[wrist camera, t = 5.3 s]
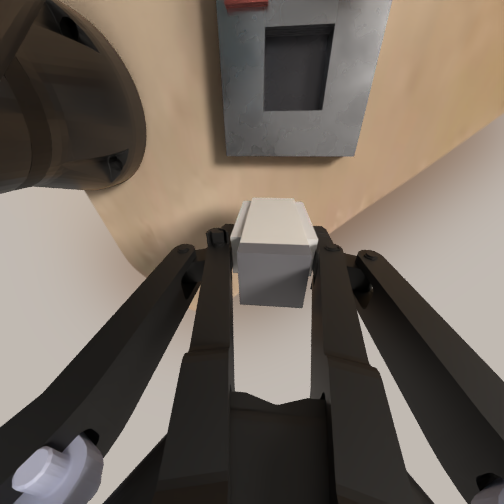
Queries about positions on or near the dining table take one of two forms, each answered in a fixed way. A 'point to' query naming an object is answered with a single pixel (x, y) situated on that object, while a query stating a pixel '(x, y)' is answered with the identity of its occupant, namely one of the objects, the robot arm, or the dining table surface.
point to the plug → (273, 255)
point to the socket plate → (297, 73)
